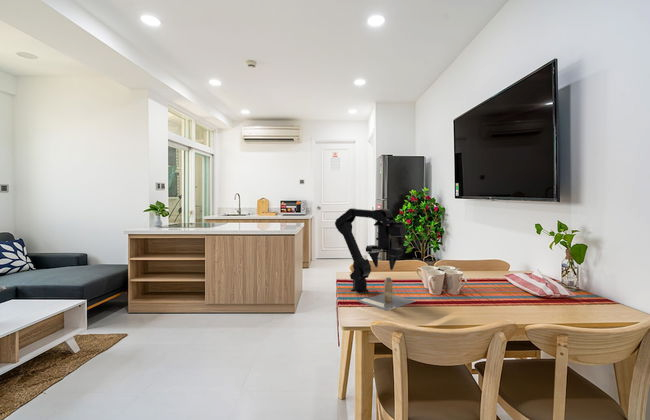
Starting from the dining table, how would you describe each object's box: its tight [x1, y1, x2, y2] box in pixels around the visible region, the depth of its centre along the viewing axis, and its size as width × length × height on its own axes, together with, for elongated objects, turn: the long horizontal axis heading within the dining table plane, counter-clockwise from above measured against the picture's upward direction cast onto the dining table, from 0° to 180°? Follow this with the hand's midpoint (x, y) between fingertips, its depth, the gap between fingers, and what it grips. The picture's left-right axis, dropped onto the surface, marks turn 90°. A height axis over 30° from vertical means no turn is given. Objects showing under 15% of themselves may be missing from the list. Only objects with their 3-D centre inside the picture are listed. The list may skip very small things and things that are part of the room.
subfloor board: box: [356, 293, 417, 312], centre depth 145 cm, size 17×20×1 cm
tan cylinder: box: [383, 277, 393, 308], centre depth 136 cm, size 4×4×12 cm
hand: (383, 268), depth 157 cm, fingers open, 9 cm apart
